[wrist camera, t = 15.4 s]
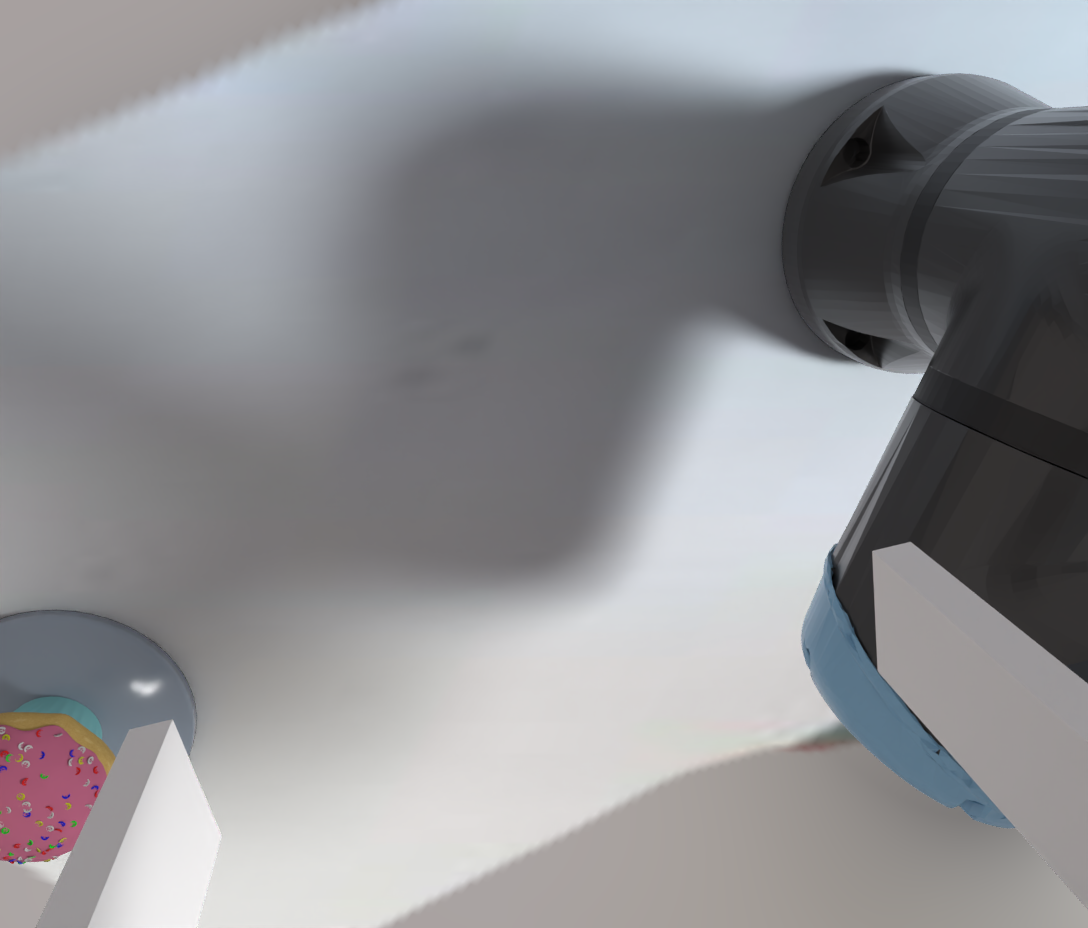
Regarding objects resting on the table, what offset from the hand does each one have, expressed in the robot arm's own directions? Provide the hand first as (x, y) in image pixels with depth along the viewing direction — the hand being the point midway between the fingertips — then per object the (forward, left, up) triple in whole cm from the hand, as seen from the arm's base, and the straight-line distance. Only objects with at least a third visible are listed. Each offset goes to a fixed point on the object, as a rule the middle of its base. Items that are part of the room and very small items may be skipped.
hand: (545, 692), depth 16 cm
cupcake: (+25, +18, -30) cm, 43 cm away
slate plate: (+25, +18, -31) cm, 44 cm away
